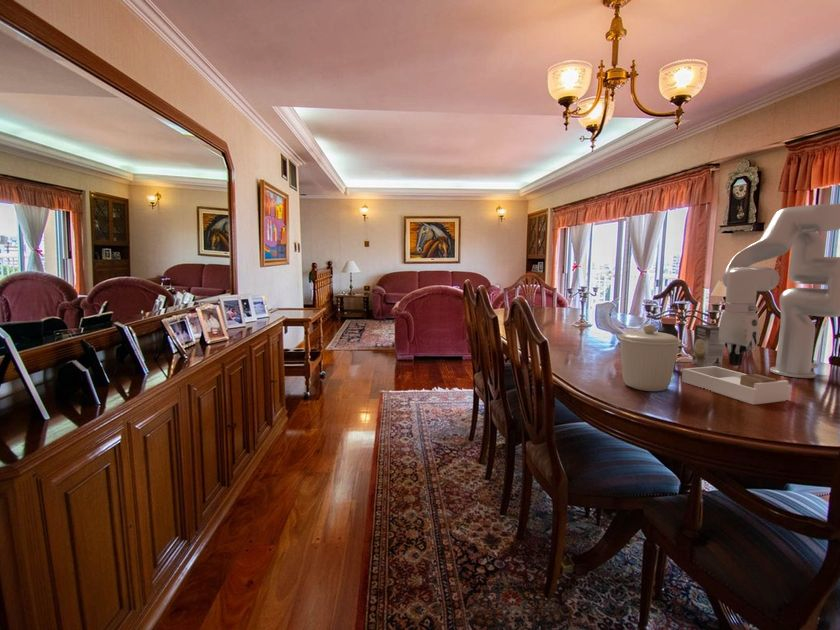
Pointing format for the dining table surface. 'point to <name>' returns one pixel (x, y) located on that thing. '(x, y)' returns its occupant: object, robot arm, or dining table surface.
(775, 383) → the box
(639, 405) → the dining table surface
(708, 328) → the coffee box
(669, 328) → the bottle
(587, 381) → the dining table surface
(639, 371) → the canister
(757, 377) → the walnut block
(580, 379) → the dining table surface
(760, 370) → the dining table surface
